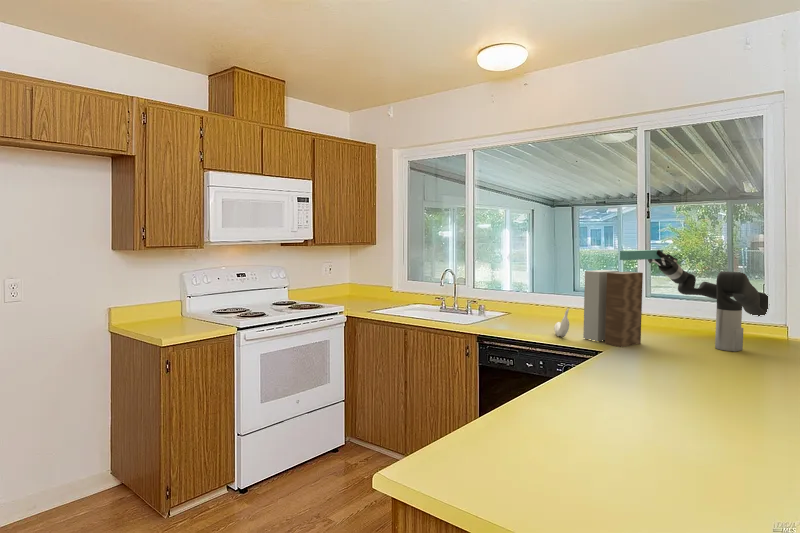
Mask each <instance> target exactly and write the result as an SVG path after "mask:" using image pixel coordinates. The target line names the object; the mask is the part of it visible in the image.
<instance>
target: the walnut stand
mask: <svg viewBox="0 0 800 533" xmlns="http://www.w3.org/2000/svg"><path fill="white" fill-rule="evenodd" d="M643 277H644V276H643V272H640V271H639V272H638V271H637V272H636V271H619V272H611V273H607V289H606V327H605V341H604V342H605V343H606V344H605V343H604V344H605V345H608V344H609V346H613V347H618V348H624V347H630V346H634V345H635V346H636V345H641V341H642V312H643V310H642V309H643V307H642V306H643V284H644V282H643Z"/></svg>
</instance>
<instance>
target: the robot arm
mask: <svg viewBox="0 0 800 533" xmlns="http://www.w3.org/2000/svg"><path fill="white" fill-rule="evenodd" d="M656 250H657V255H658V256H659V257H660V258H661V259H647V261H648V263H649V264H652V263H655V265H657V266H658V269H659V270H660V272H661V273H663V275H665V276H666V277H668V278H669V279H670V280H671V281H673V283H675V284H677V291H678V292H679V293H680V294H682V295H686V296H687V295H688V296H691V295H692V296H703V297H707V298H710V299H713V300H716V312H715V313H716V315H715V316H716V318H715V335H714V336H715V339H714V342H715V343H714V347H715V349H716V350H721V351H727V352H740V351H743V350H744V348H743V346H744V344H743V343H744V327H742V318H743V317H742V316H743V310H744V311H745V313H747V314H749V315H751V314H752V316H753V315H758V316H757V317H759V316H760V315H764V316H766V315H767V313H768V312H767V309H768V310H769V308H768V296H767V295H768V294H767V293H765V292H760V291H758V289H757V288H755V286H753V284H752V283H751V282H750V279H749V278H748V276H747V275H746V274H745V273H744V272H740V271H724V270H723V271H720V272H718V274H717V276H716V282H715V283H712V282H709V281H702V282H700V284H699V286H698V288H697V287H695V286H696V281H697V277H696V276H695V275H694V274H692V273H689V272H687V271H685V270H684V269H683V268H682V267H681V265H680V264H678V258H677V257H674V256H672V255H671V254H668V253H664V252H663V253H662V252H661V251H660V250H661V249H656ZM766 294H767V295H766ZM732 297H733V298H732ZM766 312H767V313H766ZM765 314H766V315H765ZM760 317H761V316H760Z"/></svg>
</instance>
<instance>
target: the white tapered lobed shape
mask: <svg viewBox="0 0 800 533" xmlns="http://www.w3.org/2000/svg"><path fill="white" fill-rule="evenodd" d="M569 311H570V308H569V307H568V308H567V309H566V310H565V311H564V316H563V318H562V319H561V322H560V321H556V322H555V324H554V329H553V330H554V333H555V335H556V336H557V337H559V336H561V337H560V338H563V337H565V336H566V335H567V334H568V332H569V329H570V321H569V318H568V315H569Z"/></svg>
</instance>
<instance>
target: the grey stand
mask: <svg viewBox="0 0 800 533" xmlns="http://www.w3.org/2000/svg"><path fill="white" fill-rule="evenodd" d="M611 272H620V270H612V269H597V270H596V269H595V270H584V290H583V291H584V295H583V296H584V297H583V300H584V301H583V334H582V335H583V337H582V338H585V339H591V340H595V341H602V340H605V327H606V289H607V273H611ZM585 339H584V340H585ZM602 342H603V341H602Z"/></svg>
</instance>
